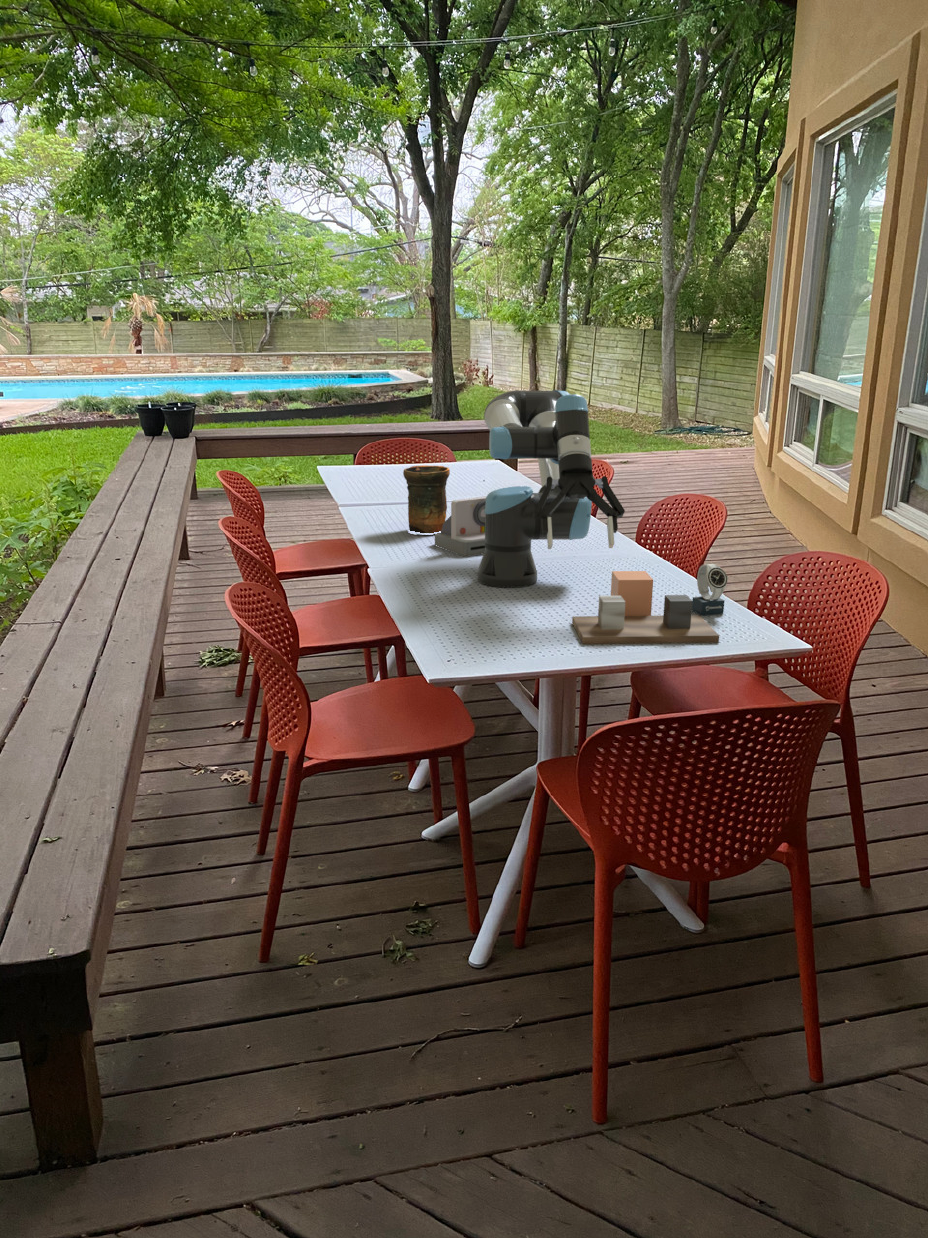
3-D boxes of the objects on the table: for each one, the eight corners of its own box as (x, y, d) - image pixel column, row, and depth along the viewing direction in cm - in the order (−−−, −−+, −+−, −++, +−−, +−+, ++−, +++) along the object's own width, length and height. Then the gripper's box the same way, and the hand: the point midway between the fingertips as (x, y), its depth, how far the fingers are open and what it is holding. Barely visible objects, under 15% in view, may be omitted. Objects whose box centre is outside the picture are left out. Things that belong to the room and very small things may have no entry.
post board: (572, 623, 201) (573, 589, 199) (699, 621, 203) (701, 588, 200) (582, 644, 188) (584, 608, 186) (718, 642, 189) (721, 607, 187)
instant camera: (456, 558, 258) (456, 505, 254) (428, 543, 276) (428, 493, 272) (524, 551, 266) (525, 499, 262) (492, 537, 284) (493, 488, 280)
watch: (706, 618, 205) (710, 570, 202) (687, 608, 212) (691, 561, 209) (728, 616, 206) (732, 568, 203) (709, 606, 214) (713, 559, 210)
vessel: (460, 532, 289) (458, 468, 283) (421, 539, 281) (419, 473, 275) (435, 524, 300) (433, 463, 294) (397, 531, 293) (394, 467, 286)
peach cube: (609, 609, 211) (611, 571, 208) (642, 609, 211) (645, 570, 209) (616, 619, 204) (618, 580, 201) (650, 619, 204) (653, 579, 201)
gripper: (521, 452, 206) (526, 540, 200) (632, 451, 207) (640, 538, 201) (518, 467, 213) (523, 553, 207) (626, 466, 214) (633, 551, 208)
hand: (581, 546), depth 204 cm, fingers open, 13 cm apart
